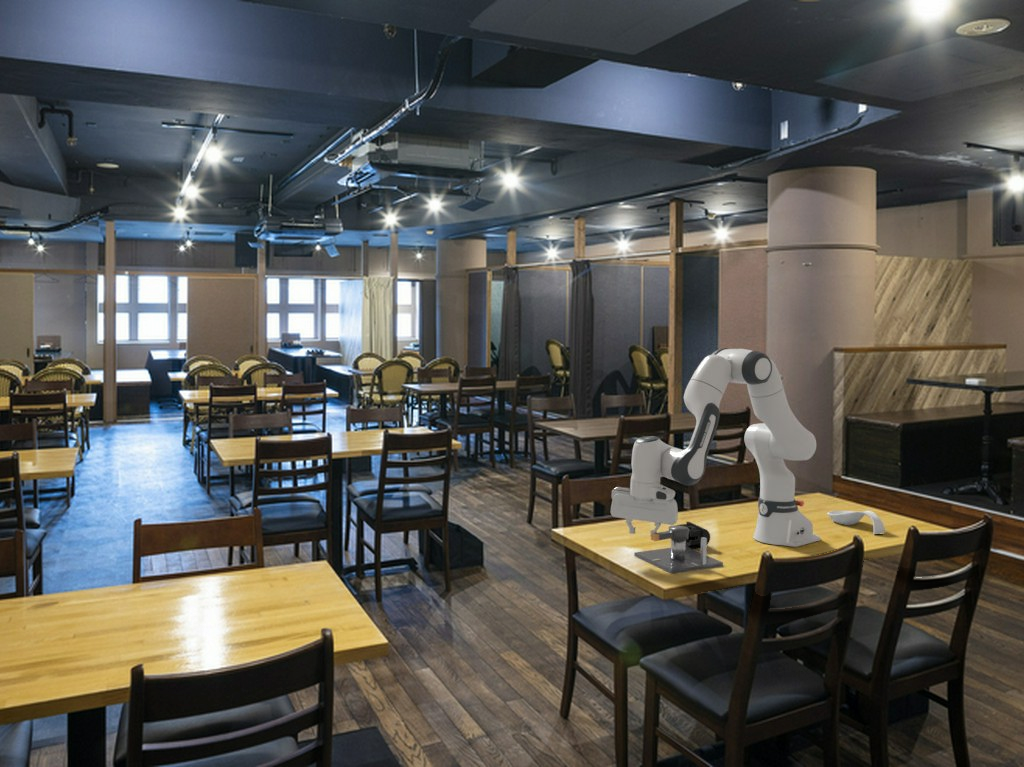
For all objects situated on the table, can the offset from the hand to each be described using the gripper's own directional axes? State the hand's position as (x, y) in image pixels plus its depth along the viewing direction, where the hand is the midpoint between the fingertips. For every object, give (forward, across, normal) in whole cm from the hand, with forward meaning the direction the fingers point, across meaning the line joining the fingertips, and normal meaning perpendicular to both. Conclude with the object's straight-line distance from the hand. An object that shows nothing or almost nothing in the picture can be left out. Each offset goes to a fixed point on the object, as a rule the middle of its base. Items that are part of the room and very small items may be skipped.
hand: (642, 534), depth 243 cm
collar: (+1, +8, +3) cm, 8 cm away
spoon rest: (+7, +58, +77) cm, 97 cm away
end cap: (+8, +10, +26) cm, 29 cm away
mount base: (+8, +10, +6) cm, 14 cm away
